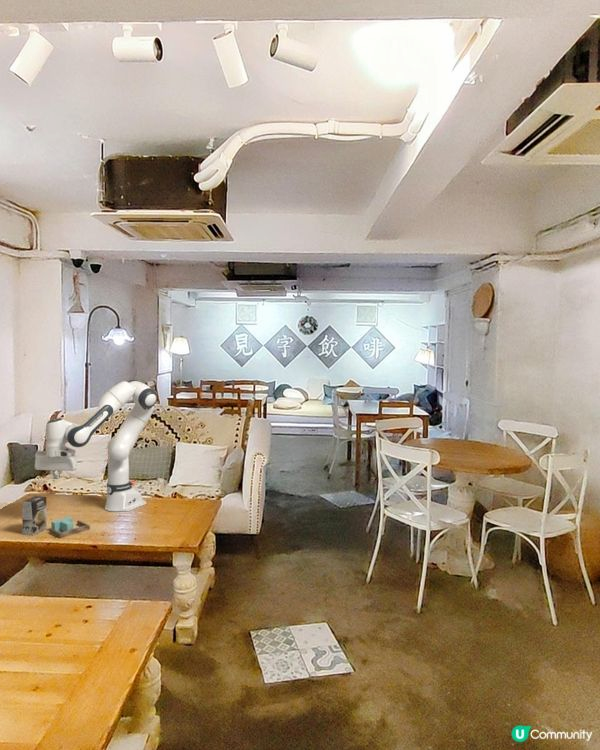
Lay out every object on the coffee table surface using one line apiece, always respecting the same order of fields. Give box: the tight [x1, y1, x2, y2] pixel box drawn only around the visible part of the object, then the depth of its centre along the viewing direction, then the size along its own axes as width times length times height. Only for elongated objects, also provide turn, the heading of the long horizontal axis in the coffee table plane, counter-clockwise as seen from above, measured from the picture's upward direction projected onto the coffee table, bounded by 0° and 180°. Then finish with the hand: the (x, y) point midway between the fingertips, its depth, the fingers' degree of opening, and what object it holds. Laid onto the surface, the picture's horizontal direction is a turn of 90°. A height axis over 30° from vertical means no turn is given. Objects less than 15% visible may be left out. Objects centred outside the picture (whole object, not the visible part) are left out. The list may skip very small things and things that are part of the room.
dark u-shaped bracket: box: [48, 520, 91, 539], centre depth 243 cm, size 15×10×2 cm, turn 143°
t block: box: [50, 516, 74, 532], centre depth 244 cm, size 9×9×4 cm
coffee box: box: [21, 495, 47, 536], centre depth 241 cm, size 9×6×16 cm
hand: (56, 478), depth 250 cm, fingers closed
